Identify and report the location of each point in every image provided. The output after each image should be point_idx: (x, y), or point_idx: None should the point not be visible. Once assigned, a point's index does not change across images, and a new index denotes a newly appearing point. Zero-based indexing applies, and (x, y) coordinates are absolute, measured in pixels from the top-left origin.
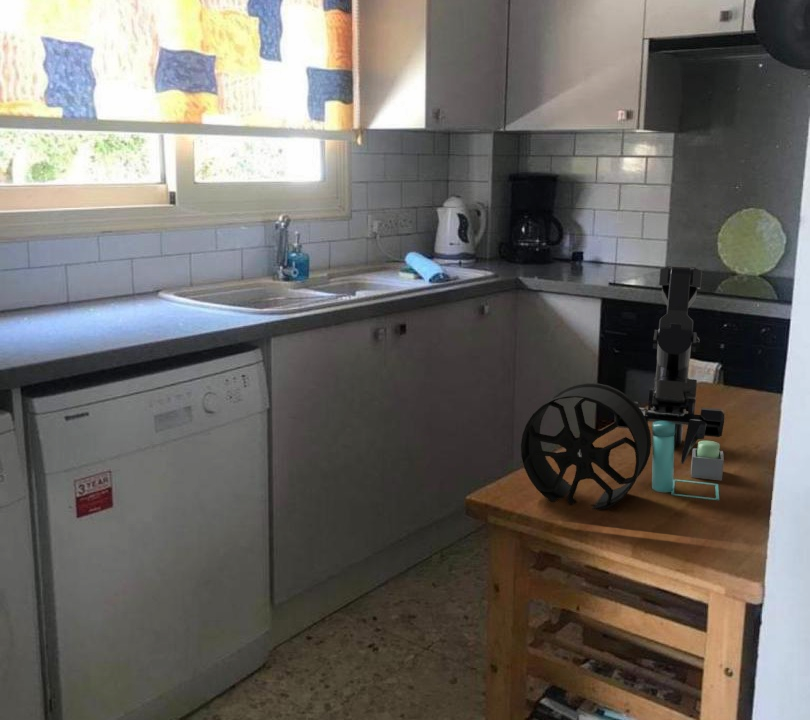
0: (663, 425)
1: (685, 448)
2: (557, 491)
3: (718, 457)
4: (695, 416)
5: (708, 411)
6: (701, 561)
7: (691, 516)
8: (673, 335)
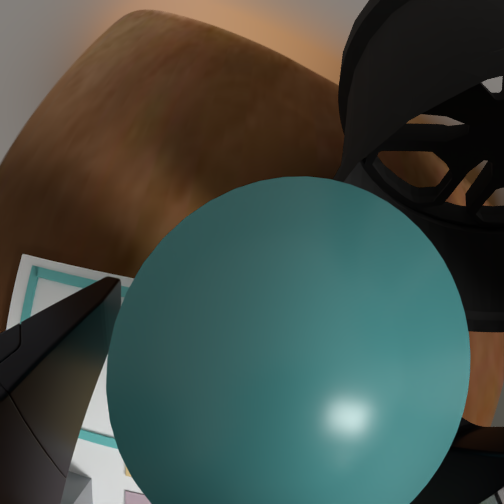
0: (356, 256)
1: (70, 308)
2: (461, 242)
3: None
4: None
5: None
6: (188, 28)
7: (140, 176)
8: None
